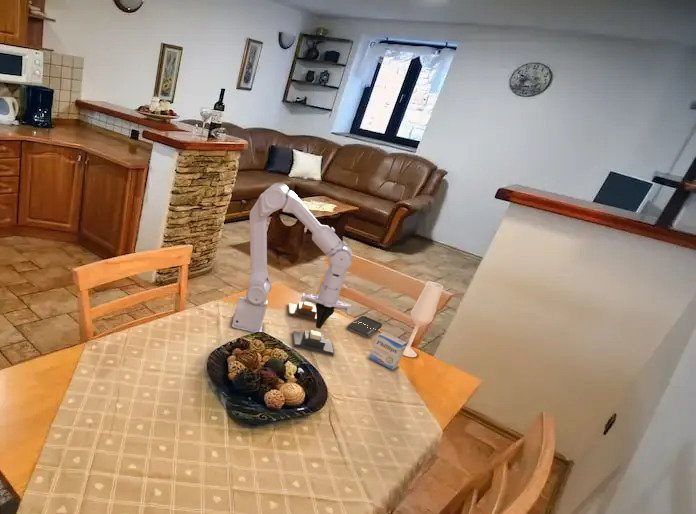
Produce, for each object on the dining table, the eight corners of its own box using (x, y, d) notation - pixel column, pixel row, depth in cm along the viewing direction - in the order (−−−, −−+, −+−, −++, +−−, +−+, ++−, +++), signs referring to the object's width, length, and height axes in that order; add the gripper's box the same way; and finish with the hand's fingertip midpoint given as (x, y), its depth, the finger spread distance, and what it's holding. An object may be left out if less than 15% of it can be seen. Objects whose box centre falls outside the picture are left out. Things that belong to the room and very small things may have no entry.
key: (309, 338, 153) (311, 334, 152) (309, 334, 156) (310, 329, 155) (320, 341, 153) (321, 336, 152) (319, 336, 156) (320, 332, 155)
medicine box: (368, 358, 154) (377, 333, 150) (374, 354, 157) (384, 330, 153) (392, 370, 150) (402, 345, 146) (397, 366, 153) (408, 342, 149)
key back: (302, 308, 173) (304, 304, 173) (302, 305, 176) (303, 301, 176) (311, 310, 173) (313, 306, 173) (311, 307, 176) (312, 303, 175)
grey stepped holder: (293, 347, 152) (296, 338, 150) (292, 334, 160) (295, 325, 158) (332, 356, 151) (335, 347, 150) (329, 342, 159) (332, 334, 158)
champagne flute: (416, 359, 160) (447, 290, 149) (395, 352, 162) (424, 284, 151) (416, 351, 166) (446, 284, 155) (396, 344, 168) (424, 278, 157)
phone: (383, 324, 178) (368, 335, 167) (382, 326, 179) (367, 338, 167) (362, 315, 182) (346, 325, 171) (361, 318, 182) (345, 328, 171)
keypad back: (288, 315, 172) (290, 308, 171) (287, 305, 180) (290, 298, 179) (322, 323, 172) (325, 315, 170) (320, 313, 180) (323, 305, 178)
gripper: (308, 285, 143) (295, 327, 149) (358, 296, 143) (342, 338, 149) (306, 277, 149) (294, 317, 156) (354, 287, 149) (340, 328, 155)
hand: (317, 326), depth 153 cm, fingers closed
